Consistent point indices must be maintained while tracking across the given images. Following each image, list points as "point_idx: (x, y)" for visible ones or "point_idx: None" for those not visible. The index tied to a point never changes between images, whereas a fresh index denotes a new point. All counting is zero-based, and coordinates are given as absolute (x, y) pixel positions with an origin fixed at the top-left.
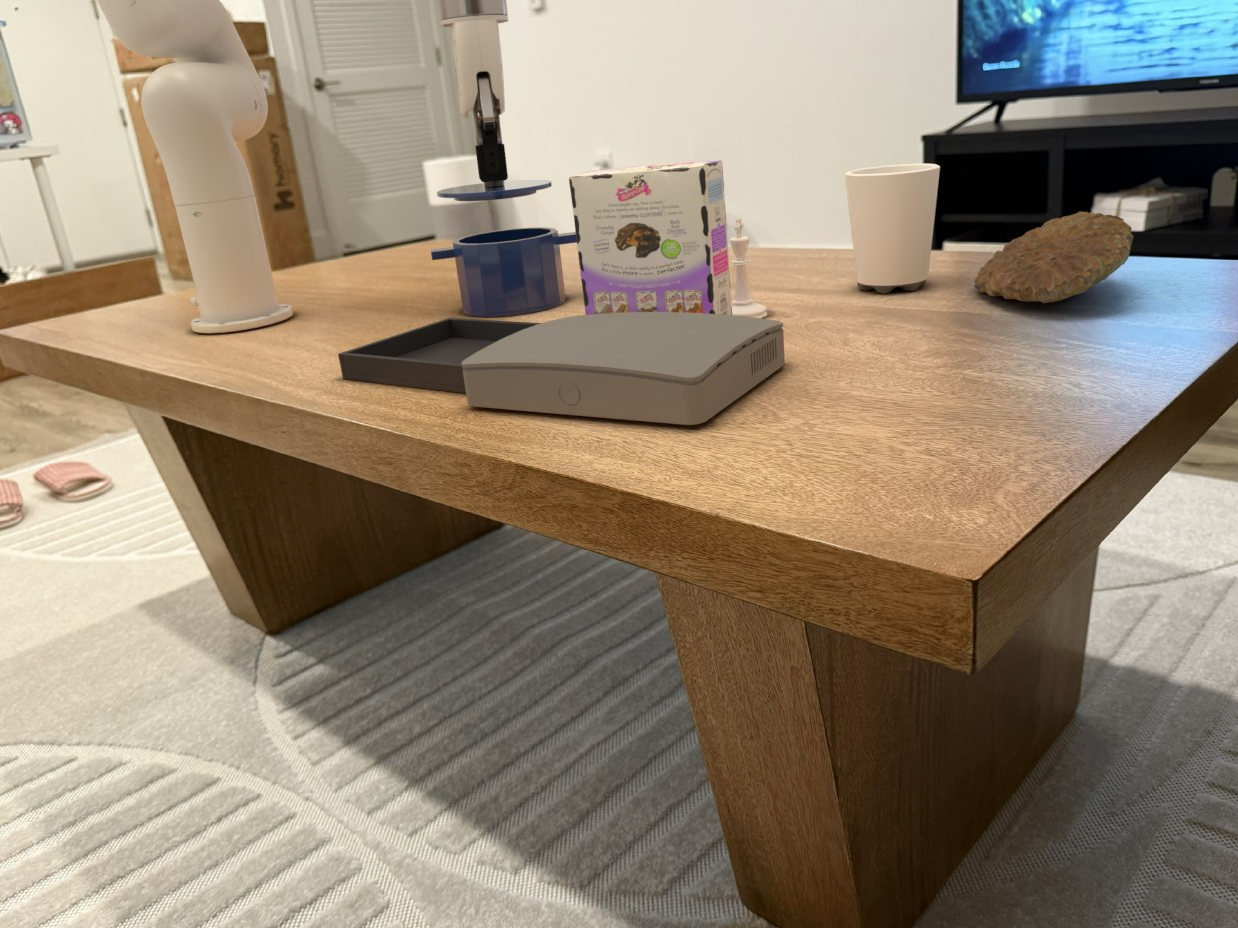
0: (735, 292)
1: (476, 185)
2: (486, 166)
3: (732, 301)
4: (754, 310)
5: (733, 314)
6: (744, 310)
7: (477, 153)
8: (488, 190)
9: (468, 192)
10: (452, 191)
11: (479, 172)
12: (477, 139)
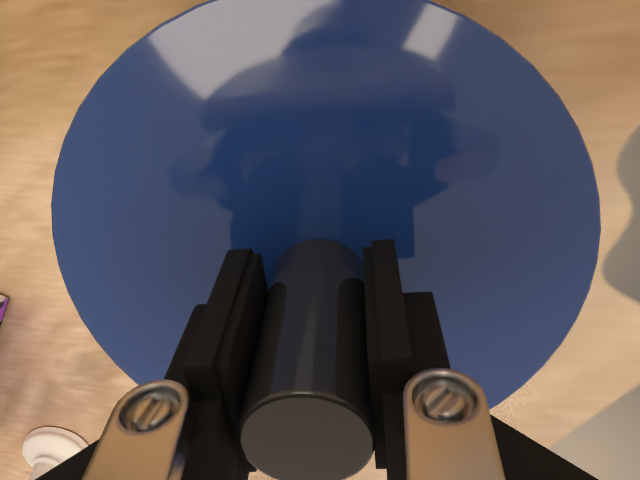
0: (37, 473)
1: (492, 196)
2: (187, 323)
3: (42, 458)
4: (30, 465)
5: (23, 443)
6: (26, 457)
7: (196, 338)
8: (119, 259)
9: (86, 177)
10: (221, 87)
11: (229, 269)
12: (406, 406)
